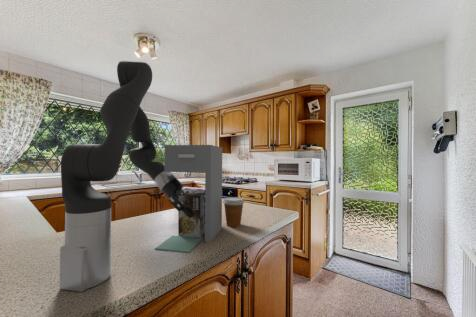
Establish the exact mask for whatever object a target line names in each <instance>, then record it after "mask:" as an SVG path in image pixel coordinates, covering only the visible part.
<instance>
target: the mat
mask: <svg viewBox="0 0 476 317" xmlns="http://www.w3.org/2000/svg"><path fill="white" fill-rule="evenodd" d="M202 240H203V237H185V236H178V235H171V236H170V237H168V238H167V239H165V240H164V241H163V242H161V243H160V244H159V245H158V246H156V247H155V248H154V250H156V251H165V252H176V253H178V252H179V253H191V252H192V250H193V249H195V247H196V246H197V245H198V244H199V243H200V242H201V241H202Z"/></svg>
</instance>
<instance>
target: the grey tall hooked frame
mask: <svg viewBox="0 0 476 317" xmlns="http://www.w3.org/2000/svg"><path fill="white" fill-rule="evenodd" d="M164 166H165V172H171V173H198V174H199V173H205V179H204V180H205V181H204V182H205V183H204V184H205V187H204V188H205V225H204V243H207V244H208V243H209V244H211V242H212V241H213V240H214V239H215V238H216V236H217V235H218V234H219V232H220V231H222V229H223V227H222V226H223V225H222V224H223V221H222V220H223V219H222V218H223V215H222V214H223V209H222V208H223V147H221V146H216V145H213V144H165V145H164Z"/></svg>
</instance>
